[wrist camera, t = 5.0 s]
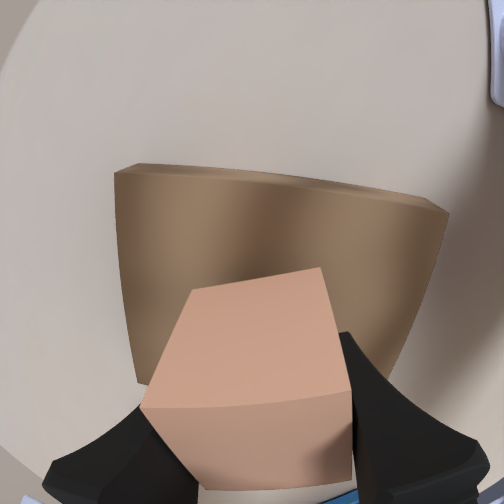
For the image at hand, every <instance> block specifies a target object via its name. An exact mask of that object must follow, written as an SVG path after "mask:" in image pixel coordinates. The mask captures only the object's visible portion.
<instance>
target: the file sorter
mask: <svg viewBox="0 0 504 504" xmlns="http://www.w3.org/2000/svg"><path fill="white" fill-rule="evenodd" d="M323 504H359V499H358V490H355V491H353V492H351V493H348V494H346V495H344V496H341V497H339V498H336V499H334V500H331V501H328V502H326V503H323Z"/></svg>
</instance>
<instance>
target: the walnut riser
mask: <svg viewBox="0 0 504 504" xmlns="http://www.w3.org/2000/svg"><path fill="white" fill-rule="evenodd" d="M114 187H115V215H116V232H117V246H118V258H119V268H120V278H121V286H122V294H123V302H124V309H125V316H126V323H127V329H128V335H129V341H130V346H131V352H132V357H133V362H134V367H135V372H136V377H137V382H138V383H140V384H144V385H149V384H150V381H151V379H152V377H153V374H154V372H155V370H156V368H157V365H158V363H159V361H160V359H161V356H162V354H163V352H164V350H165V347H166V345H167V343H168V341H169V339H170V336H171V334H172V332H173V330H174V328H175V325H176V323H177V321H178V319H179V317H180V314H181V312H182V310H183V308H184V306H185V304H186V302H187V299H188V297H189V295H190V293H191V291H192V290H193V289H199V288H205V287H211V286H217V285H223V284H229V283H235V282H241V281H246V280H252V279H258V278H263V277H269V276H274V275H280V274H285V273H291V272H296V271H302V270H307V269H312V268H318V267H321V271H322V275H323V278H324V282H325V285H326V289H327V293H328V296H329V300H330V304H331V308H332V311H333V315H334V319H335V323H336V327H337V331H338V333H341V332H346V331H348V332H349V333H351V335H352V337H353V338H354V340H355V342H356V343H357V345H358V346H359V347H360V349H361V350H362V352H363V353H364V354H365V355H366V357H367V358H368V359H369V360H370V362H371V363H372V364H373V365H374V366H375V367H376V369H377V370H378V371H379V372H380V373H381V374H382V375H383V376H384V377H385V378H386V379H388V377H389V375H390V373H391V371H392V369H393V367H394V365H395V363H396V360H397V358H398V356H399V354H400V352H401V350H402V348H403V345H404V343H405V341H406V339H407V336H408V334H409V332H410V329H411V327H412V325H413V322H414V320H415V317H416V315H417V312H418V310H419V307H420V305H421V302H422V299H423V297H424V294H425V291H426V289H427V286H428V283H429V280H430V277H431V274H432V271H433V268H434V265H435V262H436V259H437V256H438V253H439V249H440V246H441V243H442V239H443V236H444V232H445V229H446V225H447V221H448V217H449V213H448V212H446V211H445V210H443V209H442V208H440V207H438V206H437V205H435V204H434V203H432V202H430V201H429V200H427V199H425V198H421V197H416V196H411V195H406V194H401V193H396V192H391V191H386V190H380V189H375V188H369V187H364V186H358V185H352V184H346V183H339V182H333V181H326V180H319V179H312V178H305V177H298V176H290V175H282V174H273V173H264V172H255V171H245V170H235V169H224V168H211V167H198V166H183V165H164V164H140V163H138V164H135V165H133V166H130V167H127V168H125V169H122V170H120V171H117V172H115V173H114Z"/></svg>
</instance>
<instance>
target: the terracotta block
mask: <svg viewBox="0 0 504 504" xmlns="http://www.w3.org/2000/svg"><path fill="white" fill-rule="evenodd" d="M139 408H140V409H141V411H142V412H143V414H144V415H145V416H146V418H147V419H148V420H149V422H150V423H151V425H152V426H153V427H154V429H155V430H156V431H157V433H158V434H159V435H160V437H161V438H162V439H163V440H164V442H165V443H166V444H167V445H168V447H169V448H170V449H171V450H172V452H173V453H174V454H175V455H176V457H177V458H178V459H179V460H180V461H181V463H182V464H183V465H184V466H185V467H186V468H187V470H188V471H189V472H190V473H191V474H192V475H193V476H194V477H195V479H196V480H197V481H198V482H199V483H200V484H201V485H202V486H203V487H204V488H205V489H206V490H230V491H247V490H274V489H289V488H300V487H309V486H317V485H325V484H331V483H338V482H344V481H349V480H352V392H351V386H350V381H349V377H348V373H347V368H346V364H345V360H344V355H343V351H342V347H341V343H340V339H339V335H338V331H337V327H336V323H335V319H334V315H333V311H332V308H331V304H330V300H329V296H328V293H327V289H326V285H325V282H324V278H323V275H322V271H321V267H318V268H312V269H307V270H302V271H296V272H291V273H285V274H280V275H274V276H269V277H263V278H258V279H252V280H246V281H241V282H235V283H229V284H223V285H217V286H211V287H205V288H199V289H193V290H192V291H191V293H190V295H189V297H188V299H187V302H186V304H185V306H184V308H183V310H182V312H181V314H180V317H179V319H178V321H177V323H176V325H175V328H174V330H173V332H172V334H171V336H170V339H169V341H168V343H167V345H166V347H165V350H164V352H163V354H162V356H161V359H160V361H159V363H158V365H157V368H156V370H155V372H154V374H153V377H152V379H151V381H150V384H149V386H148V388H147V391H146V393H145V395H144V397H143V400H142V402H141V405H140V407H139Z"/></svg>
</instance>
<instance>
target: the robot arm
mask: <svg viewBox="0 0 504 504" xmlns="http://www.w3.org/2000/svg"><path fill="white" fill-rule="evenodd" d="M488 5H489V15H490V29H491V90H490V93H491V98H492V100H493V102H494V103H495V104H497V105H499V106H501V107H503V108H504V0H488ZM338 335H339V339H340V343H341V347H342V351H343V355H344V360H345V364H346V368H347V373H348V377H349V381H350V386H351V392H352V450H353V456H354V463H355V471H356V480H357V489H358V499H359V504H478V503H477V499H476V498H478V496H479V493H478V489H477V485H478V484H479V483H480V482H481V481H482V480H483V478H484V477H485V476H486V475H487V473H488V471H489V469H490V463H489V461H488V458H487V456H486V454H485V452H484V451H483V449H482V447H481V446H480V444H479V443H478V441H477V440H475V439H472V438H470V437H468V436H466V435H463V434H461V433H459V432H457V431H455V430H453V429H452V428H450V427H448V426H446V425H445V424H443V423H441V422H439V421H438V420H436V419H435V418H433V417H432V416H430V415H429V414H427V413H426V412H424V411H423V410H421V409H420V408H419V407H417V406H416V405H415V404H413V403H412V402H411V401H410V400H408V399H407V398H406V397H405V396H404V395H402V394H401V393H400V392H399V391H398V390H397V389H396V388H395V387H394V386H393V385H392V384H391V383H390V382H389V381H388V380H387V379H386V378H385V377H384V376H383V375H382V374H381V373H380V372H379V371H378V370H377V369H376V367H375V366H374V365H373V364H372V363H371V362H370V360H369V359H368V358H367V357H366V355H365V354H364V353H363V352H362V350H361V349H360V347H359V346H358V345H357V343H356V342H355V340H354V338H353V337H352V335H351V333H349V332H348V331H346V332H341V333H338ZM140 405H141V403H140V404H139V405H138V407H137V408H135V409H134V410H133V411H132V412H131V413H130V414H129V415H128V416H127V417H126V418H124V419H123V420H122V421H121V422H120V423H118V424H117V425H116V426H115V427H113V428H112V429H110V430H109V431H108V432H106V433H105V434H103V435H102V436H101V437H99V438H98V439H96V440H95V441H93V442H91V443H90V444H88V445H86V446H84V447H82V448H81V449H79V450H77V451H75V452H73V453H71V454H68V455H66V456H64V457H61V458H59V459H57V460H54V461H53V462H52V464H51V466H50V468H49V470H48V472H47V474H46V476H45V478H44V481H43V483H42V486H43V488H44V490H45V491H46V492H48V493H49V494H50V495H51V496H53V497H54V498H55V499H57V500H58V501H59V502H61V503H62V504H197V503H198V486H199V482H198V481H197V480H196V479H195V477H194V476H193V475H192V474H191V473H190V472H189V471H188V470H187V468H186V467H185V466H184V465H183V464H182V463H181V461H180V460H179V459H178V458H177V457H176V455H175V454H174V453H173V452H172V450H171V449H170V448H169V447H168V445H167V444H166V443H165V442H164V440H163V439H162V438H161V437H160V435H159V434H158V433H157V431H156V430H155V429H154V427H153V426H152V425H151V423H150V422H149V420H148V419H147V418H146V416H145V415H144V414H143V412H142V411H141V409H140V408H139V407H140ZM20 504H44V503H42V502H40V501H38V500H36V499H34V498H32V497H30V496H28V495H24V497H23V499H22V501H21V503H20ZM489 504H504V496H502V497H501V498H499V499H497V500H495V501H493V502H491V503H489Z"/></svg>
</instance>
